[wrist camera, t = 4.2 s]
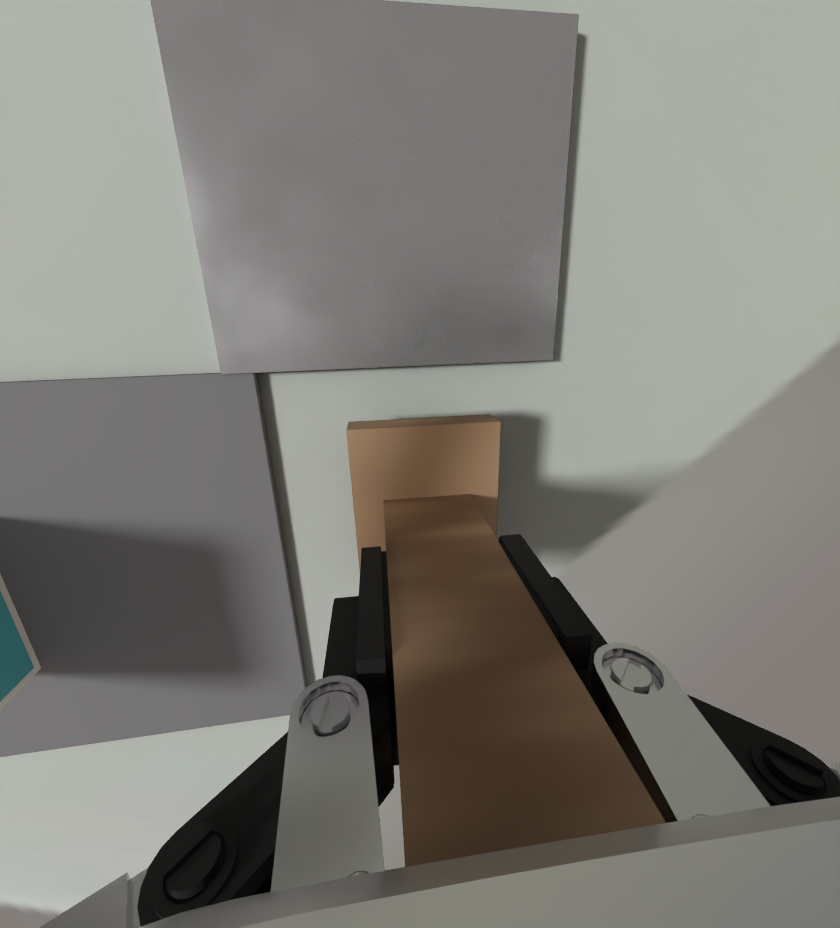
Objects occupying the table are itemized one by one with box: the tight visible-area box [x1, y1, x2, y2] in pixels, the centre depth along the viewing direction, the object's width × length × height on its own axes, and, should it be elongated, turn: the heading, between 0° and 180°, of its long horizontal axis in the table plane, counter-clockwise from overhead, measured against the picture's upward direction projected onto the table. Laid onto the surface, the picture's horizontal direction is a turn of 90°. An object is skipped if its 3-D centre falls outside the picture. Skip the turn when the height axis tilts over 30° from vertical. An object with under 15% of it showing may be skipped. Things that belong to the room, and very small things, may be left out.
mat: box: [0, 373, 307, 757], centre depth 15 cm, size 16×16×1 cm
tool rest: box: [151, 0, 579, 374], centre depth 13 cm, size 12×10×1 cm
